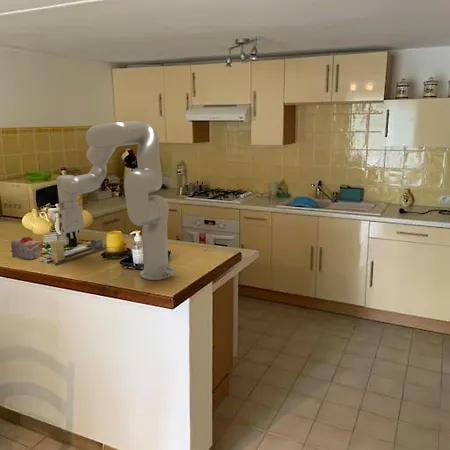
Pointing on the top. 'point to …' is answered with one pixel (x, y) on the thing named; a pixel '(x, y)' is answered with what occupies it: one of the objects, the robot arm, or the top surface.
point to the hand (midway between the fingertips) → (73, 246)
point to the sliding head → (57, 251)
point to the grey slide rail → (79, 251)
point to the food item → (26, 248)
